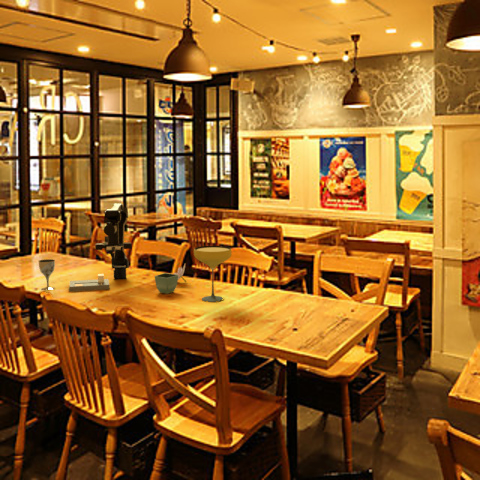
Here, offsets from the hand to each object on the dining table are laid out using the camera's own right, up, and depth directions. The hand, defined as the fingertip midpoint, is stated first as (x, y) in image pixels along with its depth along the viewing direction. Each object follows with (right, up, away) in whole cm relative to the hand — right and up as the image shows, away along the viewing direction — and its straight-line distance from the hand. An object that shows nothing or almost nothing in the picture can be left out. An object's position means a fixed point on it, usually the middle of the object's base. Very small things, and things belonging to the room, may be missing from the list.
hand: (114, 262), depth 298 cm
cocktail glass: (+54, -17, -25) cm, 62 cm away
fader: (-7, -12, 0) cm, 14 cm away
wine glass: (-33, -14, -5) cm, 37 cm away
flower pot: (+30, -15, -12) cm, 35 cm away
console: (-13, -13, -1) cm, 18 cm away
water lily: (+33, -12, +11) cm, 37 cm away
